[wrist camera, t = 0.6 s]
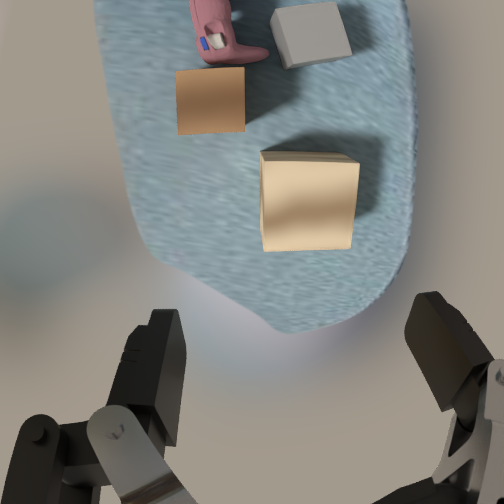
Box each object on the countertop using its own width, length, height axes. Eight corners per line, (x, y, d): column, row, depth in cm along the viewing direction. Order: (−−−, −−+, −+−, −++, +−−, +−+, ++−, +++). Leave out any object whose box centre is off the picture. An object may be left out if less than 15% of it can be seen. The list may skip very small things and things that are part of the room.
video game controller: (213, -15, 21) (169, -30, 15) (255, -28, 19) (218, -51, 13) (230, 70, 25) (187, 70, 20) (274, 61, 24) (240, 56, 18)
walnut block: (187, 77, 24) (175, 71, 19) (242, 74, 24) (244, 67, 19) (189, 128, 27) (178, 135, 21) (243, 125, 27) (245, 131, 22)
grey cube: (268, 23, 22) (275, 8, 18) (319, 15, 22) (335, 1, 17) (283, 70, 24) (293, 64, 20) (333, 61, 24) (352, 55, 20)
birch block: (259, 151, 28) (264, 161, 24) (341, 152, 28) (359, 163, 24) (260, 228, 32) (264, 251, 27) (335, 227, 32) (350, 248, 28)
